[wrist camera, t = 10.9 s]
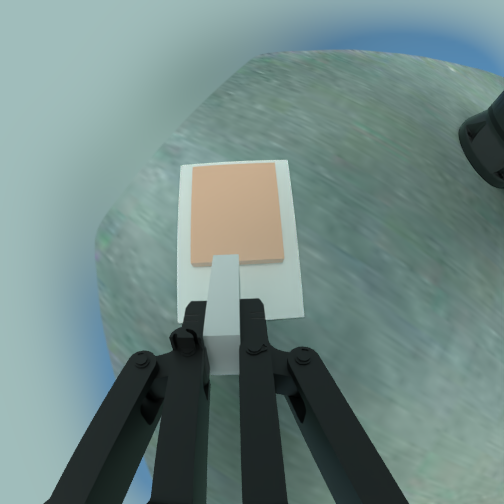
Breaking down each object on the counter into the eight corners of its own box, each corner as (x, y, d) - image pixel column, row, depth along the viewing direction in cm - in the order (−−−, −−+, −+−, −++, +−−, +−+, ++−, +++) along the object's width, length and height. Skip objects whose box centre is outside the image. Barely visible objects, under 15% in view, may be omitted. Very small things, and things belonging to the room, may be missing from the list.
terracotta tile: (284, 258, 31) (274, 162, 34) (190, 263, 31) (192, 166, 34) (282, 263, 33) (273, 171, 36) (193, 267, 33) (195, 175, 36)
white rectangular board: (303, 317, 32) (304, 316, 31) (179, 323, 31) (177, 323, 31) (286, 162, 37) (287, 159, 37) (181, 167, 37) (180, 165, 36)
